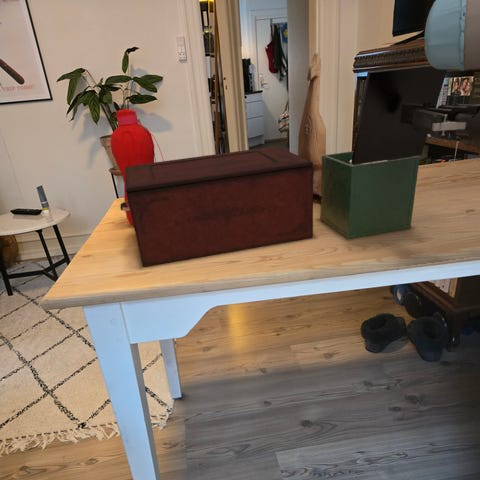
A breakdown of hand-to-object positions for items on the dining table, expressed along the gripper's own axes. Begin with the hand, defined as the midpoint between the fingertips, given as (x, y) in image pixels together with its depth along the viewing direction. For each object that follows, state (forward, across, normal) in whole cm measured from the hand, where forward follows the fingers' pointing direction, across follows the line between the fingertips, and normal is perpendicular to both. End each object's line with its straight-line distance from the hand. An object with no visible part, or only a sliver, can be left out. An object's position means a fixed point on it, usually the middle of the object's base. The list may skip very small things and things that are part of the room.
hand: (405, 112), depth 67 cm
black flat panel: (+3, 0, -1) cm, 3 cm away
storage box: (+20, -30, -22) cm, 42 cm away
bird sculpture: (+36, -2, -22) cm, 43 cm away
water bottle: (+38, -44, -22) cm, 62 cm away
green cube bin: (+11, 0, -22) cm, 25 cm away
